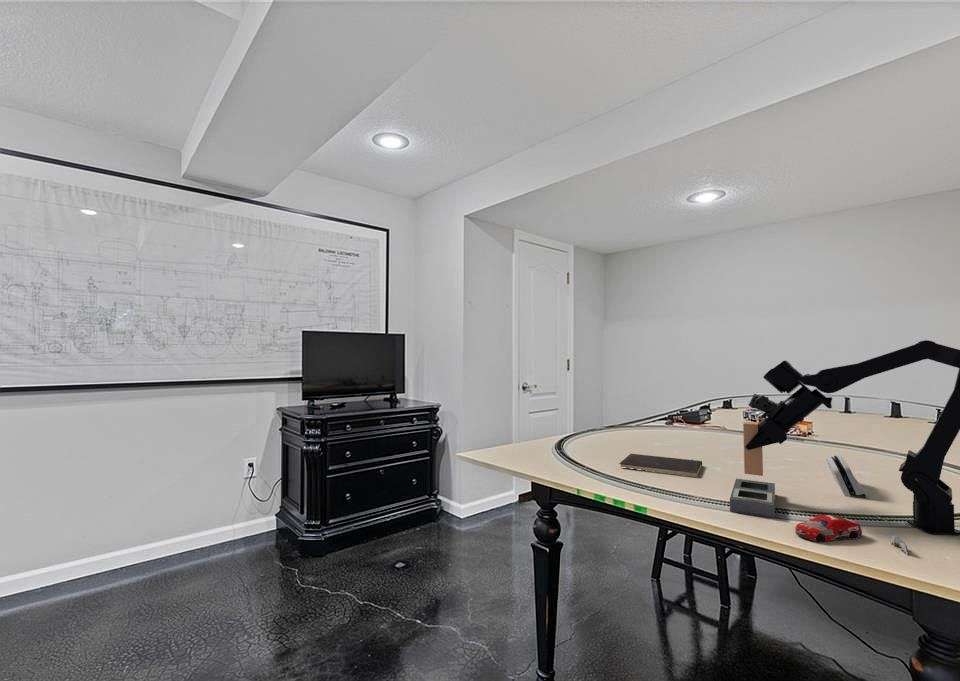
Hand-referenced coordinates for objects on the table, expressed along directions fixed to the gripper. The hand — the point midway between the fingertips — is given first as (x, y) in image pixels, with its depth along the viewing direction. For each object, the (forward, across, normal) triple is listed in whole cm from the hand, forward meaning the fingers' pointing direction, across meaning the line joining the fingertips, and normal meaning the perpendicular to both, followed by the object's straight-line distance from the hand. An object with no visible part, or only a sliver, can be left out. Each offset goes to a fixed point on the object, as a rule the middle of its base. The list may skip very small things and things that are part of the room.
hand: (747, 447), depth 122 cm
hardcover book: (+28, -20, -8) cm, 35 cm away
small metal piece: (-10, +21, +29) cm, 37 cm away
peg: (+4, 0, +6) cm, 7 cm away
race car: (-1, +20, +20) cm, 29 cm away
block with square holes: (+8, +5, +10) cm, 14 cm away
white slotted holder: (-6, -21, +25) cm, 33 cm away
